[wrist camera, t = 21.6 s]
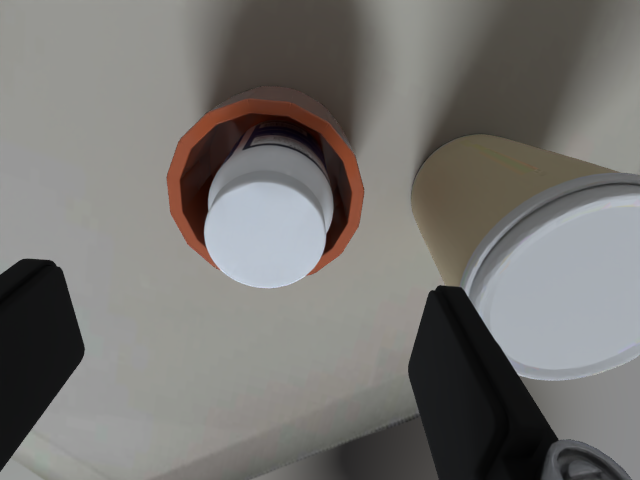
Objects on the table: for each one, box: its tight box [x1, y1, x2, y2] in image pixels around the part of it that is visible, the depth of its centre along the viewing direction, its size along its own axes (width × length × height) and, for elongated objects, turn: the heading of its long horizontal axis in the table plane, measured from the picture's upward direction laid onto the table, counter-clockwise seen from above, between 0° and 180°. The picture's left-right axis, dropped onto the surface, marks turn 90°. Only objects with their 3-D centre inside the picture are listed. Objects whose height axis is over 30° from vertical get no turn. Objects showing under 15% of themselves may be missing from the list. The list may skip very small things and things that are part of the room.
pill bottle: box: [204, 120, 334, 288], centre depth 18 cm, size 6×6×10 cm
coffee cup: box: [411, 134, 640, 381], centre depth 19 cm, size 9×9×12 cm
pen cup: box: [167, 86, 364, 276], centre depth 20 cm, size 9×9×6 cm
